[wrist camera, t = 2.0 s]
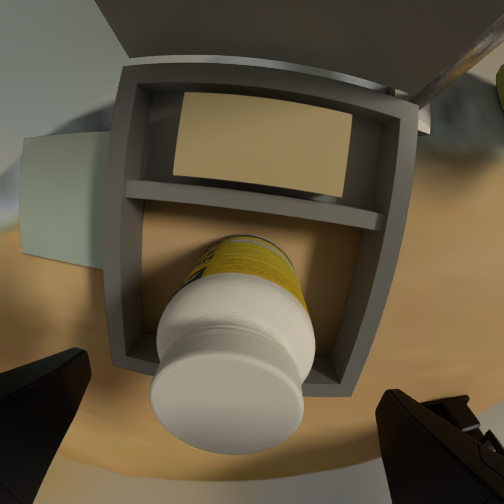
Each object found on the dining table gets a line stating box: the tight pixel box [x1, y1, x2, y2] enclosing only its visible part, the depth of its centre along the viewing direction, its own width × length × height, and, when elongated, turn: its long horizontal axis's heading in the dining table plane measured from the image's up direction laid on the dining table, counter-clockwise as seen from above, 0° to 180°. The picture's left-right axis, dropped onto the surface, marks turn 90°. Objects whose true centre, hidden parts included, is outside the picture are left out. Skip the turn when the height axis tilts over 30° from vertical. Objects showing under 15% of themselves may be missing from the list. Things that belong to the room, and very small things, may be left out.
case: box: [103, 63, 419, 397], centre depth 13 cm, size 16×14×3 cm
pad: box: [20, 131, 110, 269], centre depth 14 cm, size 8×8×1 cm
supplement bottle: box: [149, 234, 315, 455], centre depth 11 cm, size 5×5×10 cm
